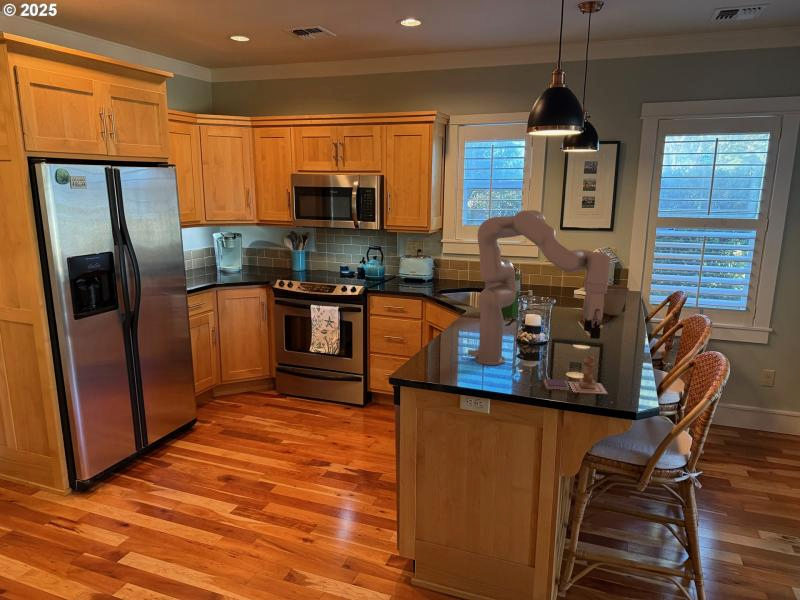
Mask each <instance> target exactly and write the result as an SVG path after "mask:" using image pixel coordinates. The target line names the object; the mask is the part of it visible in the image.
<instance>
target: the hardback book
mask: <svg viewBox="0 0 800 600" xmlns="http://www.w3.org/2000/svg"><path fill="white" fill-rule="evenodd" d="M520 282H521V274H518V273H515V285H516V298H515V301H514V302H513V304H511V305H510V306H507V307H503V308H501V311H502V315H503V318H507V319H514V318H516V317H518V316H519V302H520V301H519V302H518V299H519V300H520ZM484 283H485V286H484V289H486V288H488V287H492V286H496V284H495V283H486V282H484Z"/></svg>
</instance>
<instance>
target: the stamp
mask: <svg viewBox="0 0 800 600" xmlns="http://www.w3.org/2000/svg"><path fill="white" fill-rule="evenodd" d="M583 364H584V365H583V376H582V378H579V381H578V382H579V386H580V388H581V389H592V390H595V389H596V383H597V382H596V381H595V380H594V379H593V378H594V367H595V365H596V359H595V358H594V357H593V356H591V355H588V356H585V357H584V359H583Z"/></svg>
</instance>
